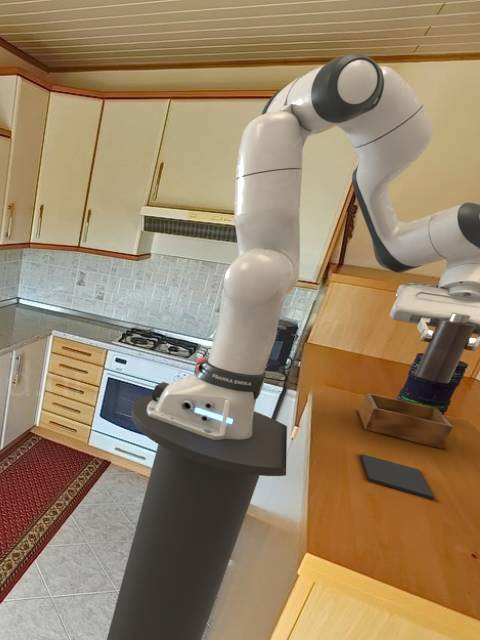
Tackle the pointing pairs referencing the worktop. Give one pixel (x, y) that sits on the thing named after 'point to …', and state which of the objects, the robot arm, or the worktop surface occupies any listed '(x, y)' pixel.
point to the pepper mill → (445, 348)
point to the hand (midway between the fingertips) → (447, 344)
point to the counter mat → (396, 476)
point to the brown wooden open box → (404, 420)
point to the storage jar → (430, 387)
